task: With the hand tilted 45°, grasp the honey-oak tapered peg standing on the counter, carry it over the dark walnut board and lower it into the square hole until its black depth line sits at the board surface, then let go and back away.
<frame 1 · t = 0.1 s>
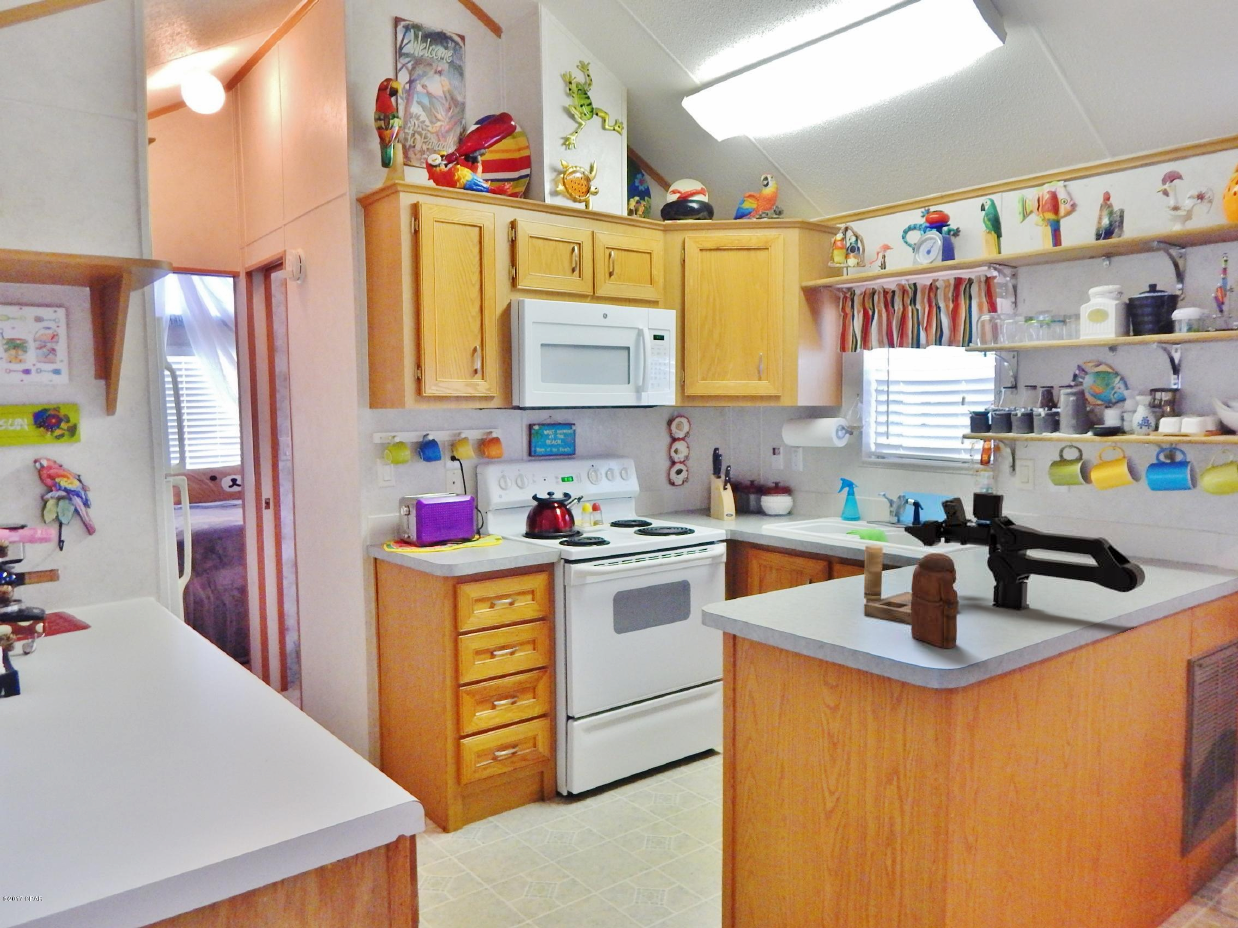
hand: (913, 527, 224), 17 cm above the countertop, tool horizontal, fingers open, 9 cm apart
walnut board: (911, 612, 200), on the countertop
oak peg: (872, 604, 208), on the countertop
wooden figurine: (934, 642, 175), on the countertop
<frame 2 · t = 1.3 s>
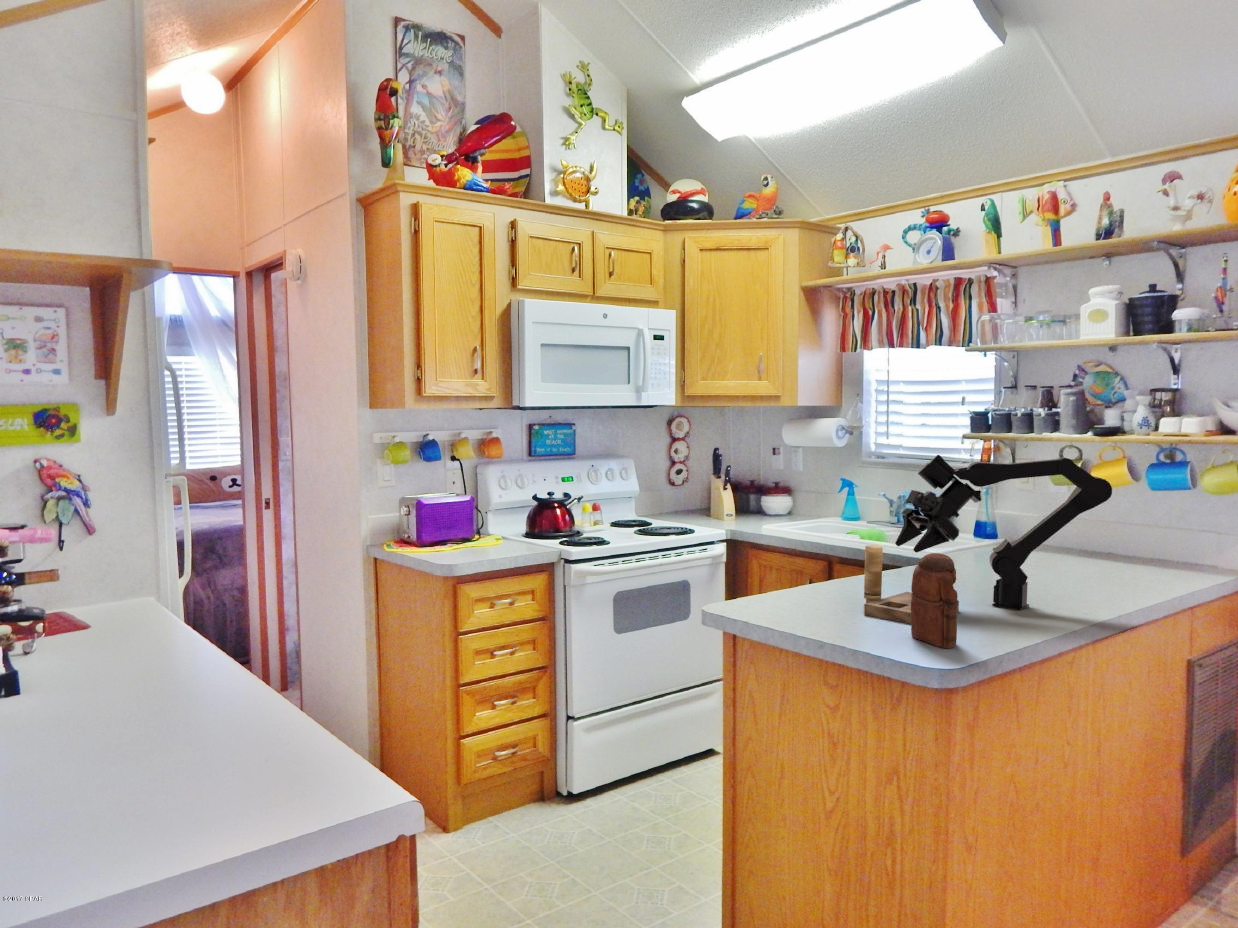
hand: (905, 547, 208), 14 cm above the countertop, tool tilted 45°, fingers open, 9 cm apart
nothing on the countertop moved.
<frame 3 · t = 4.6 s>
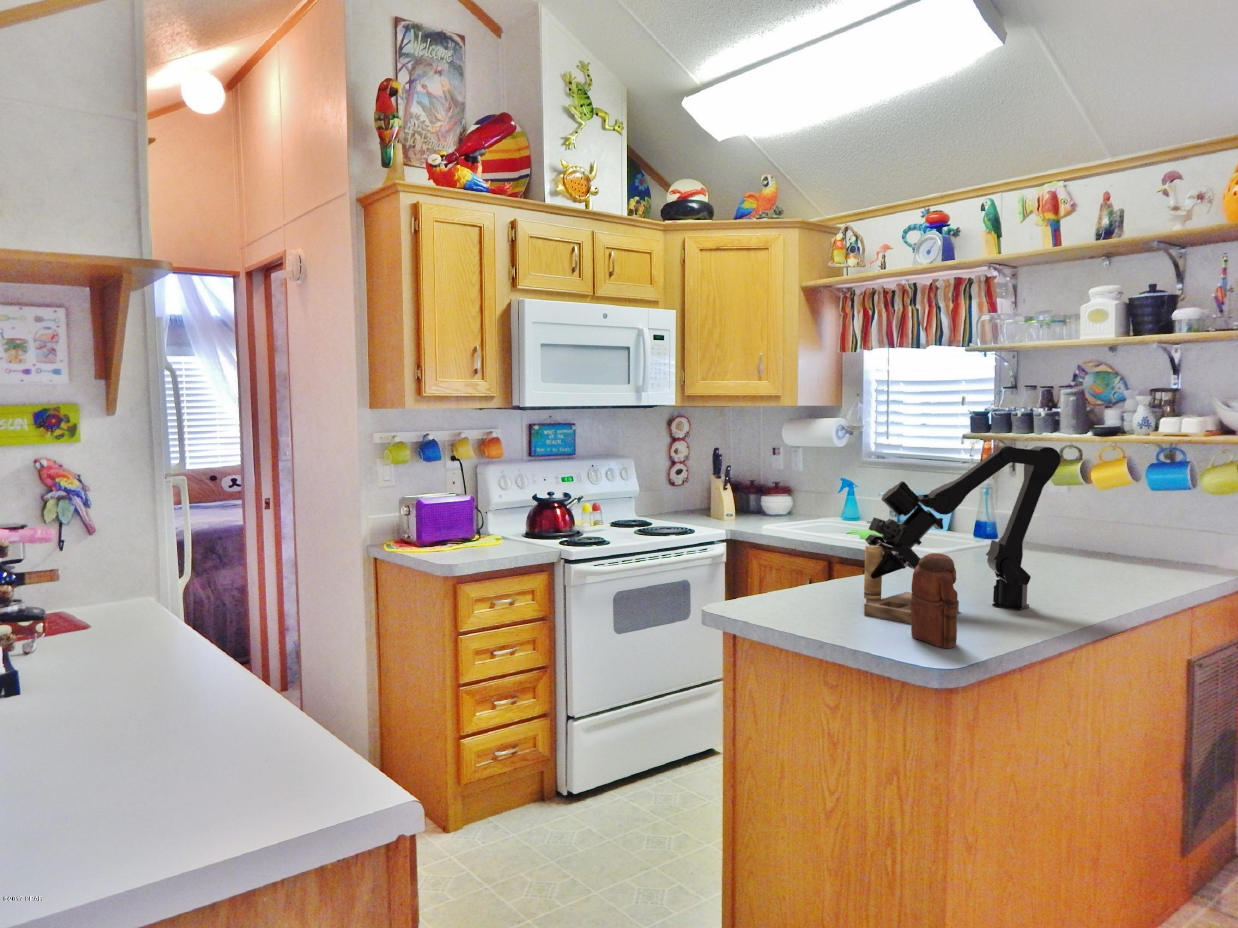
hand: (867, 575, 207), 7 cm above the countertop, tool tilted 45°, fingers closed on oak peg, 4 cm apart
oak peg: (872, 604, 208), on the countertop, touching gripper
everything else where it was.
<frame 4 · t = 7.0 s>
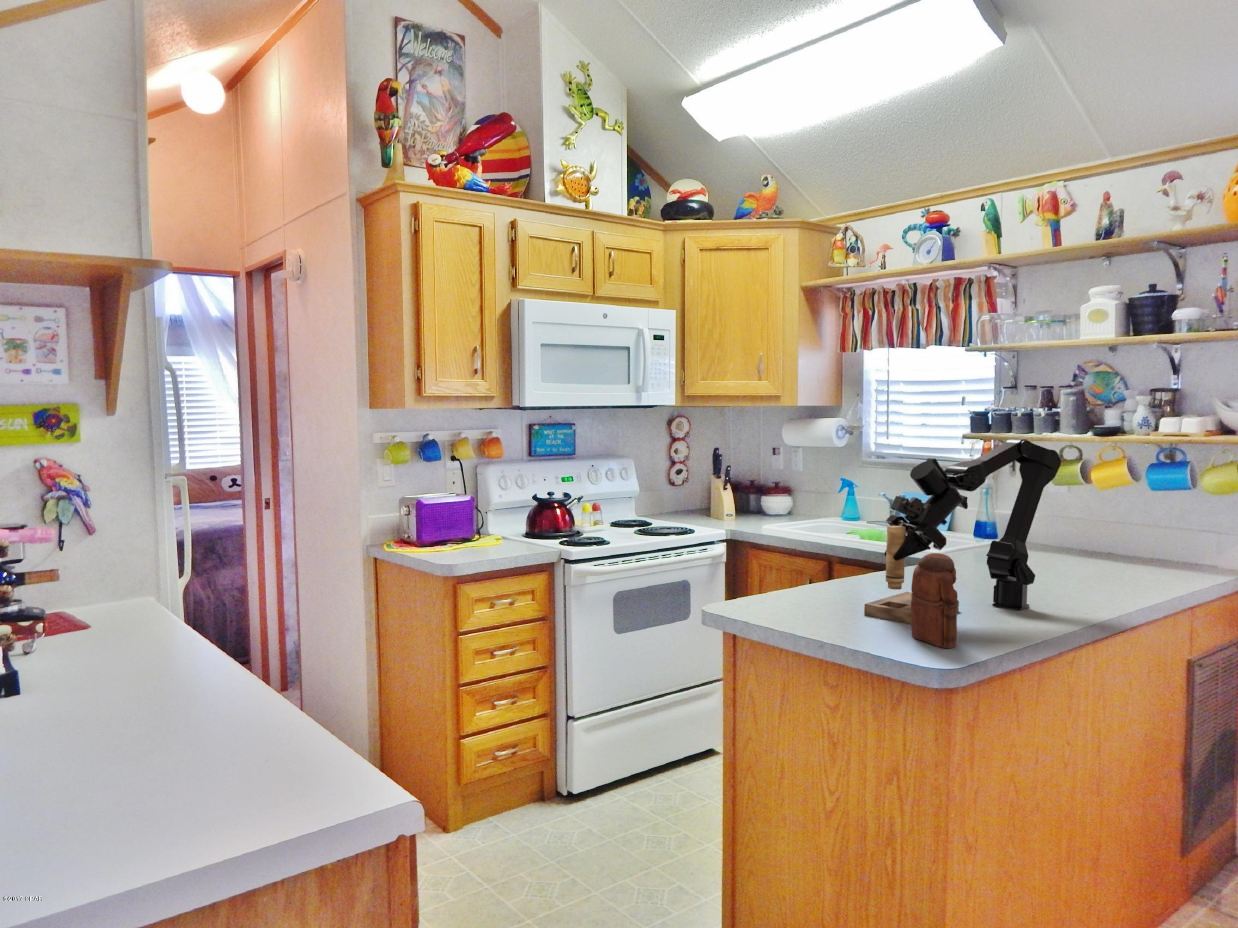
hand: (889, 557, 196), 13 cm above the countertop, tool tilted 45°, fingers closed on oak peg, 4 cm apart
oak peg: (894, 588, 196), point 6 cm above the countertop, touching gripper
everything else where it was.
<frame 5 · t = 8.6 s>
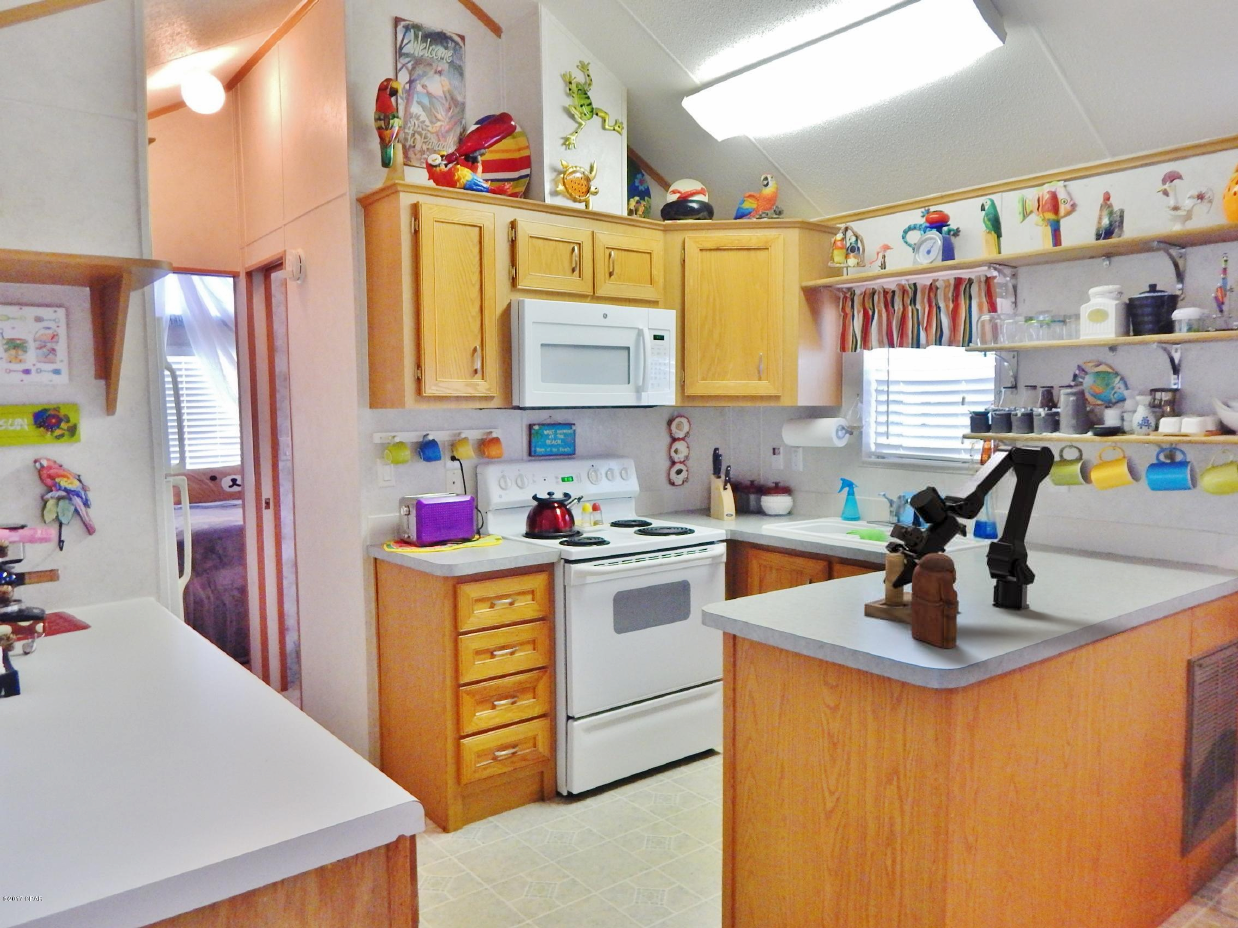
hand: (888, 585, 196), 7 cm above the countertop, tool tilted 45°, fingers closed on oak peg, 4 cm apart
oak peg: (893, 615, 197), on the countertop, touching gripper
everything else where it was.
when the fingers open (7 cm above the countertop, at t = 9.4 s): oak peg stays where it is, on the countertop.
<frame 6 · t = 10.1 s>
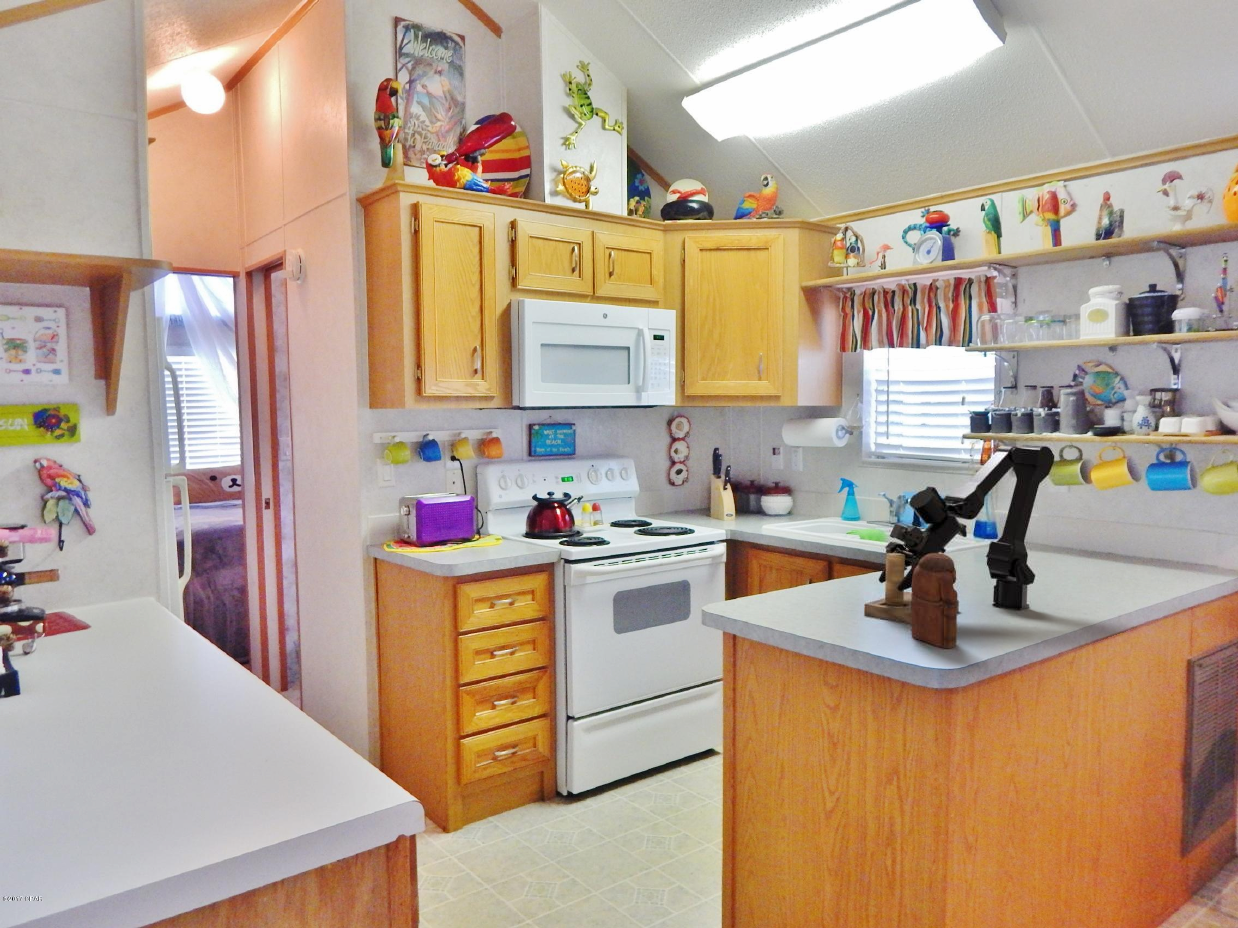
hand: (888, 585, 196), 7 cm above the countertop, tool tilted 45°, fingers open, 9 cm apart
oak peg: (893, 615, 197), on the countertop
everything else where it was.
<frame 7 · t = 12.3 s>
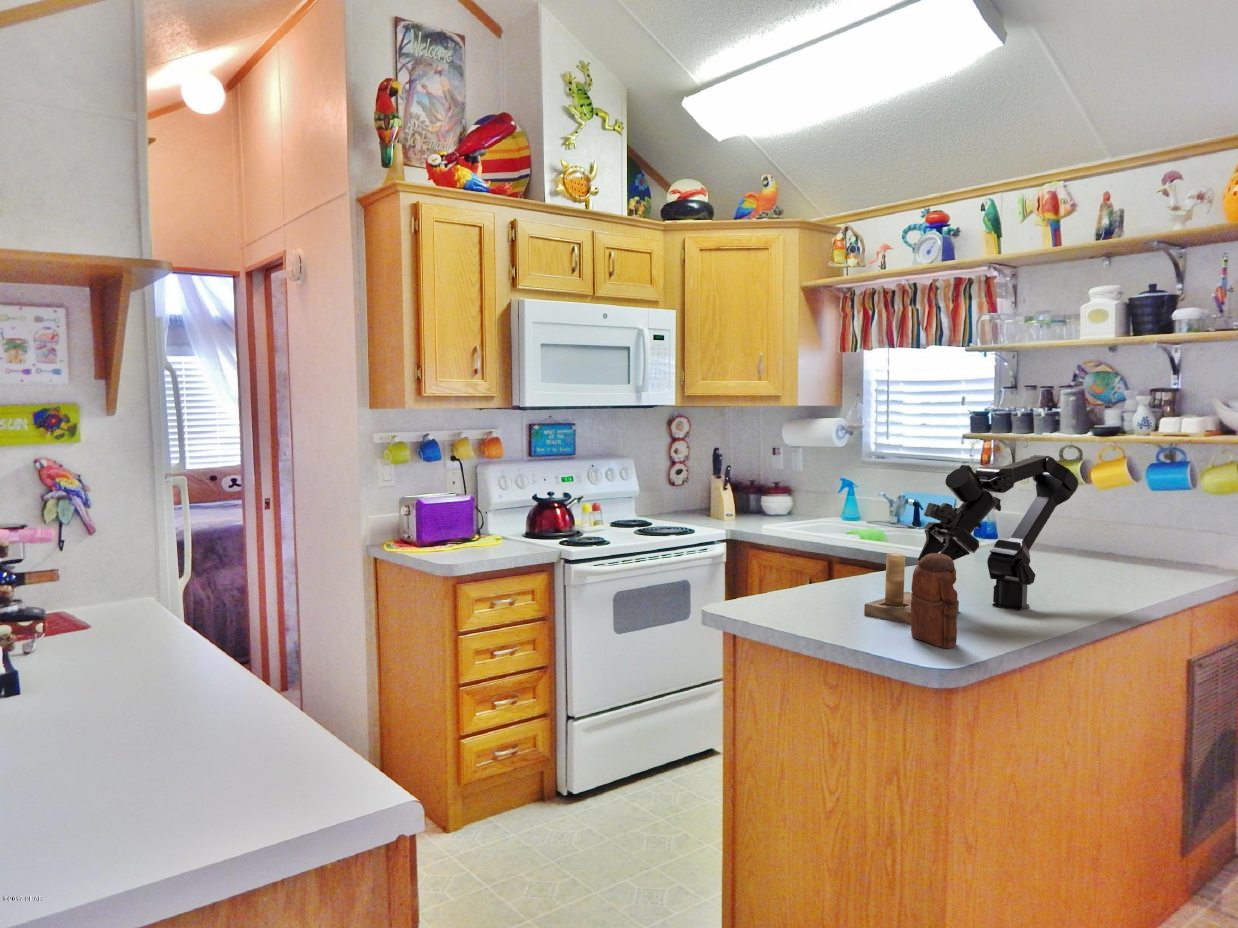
hand: (926, 563, 199), 11 cm above the countertop, tool tilted 40°, fingers open, 9 cm apart
nothing on the countertop moved.
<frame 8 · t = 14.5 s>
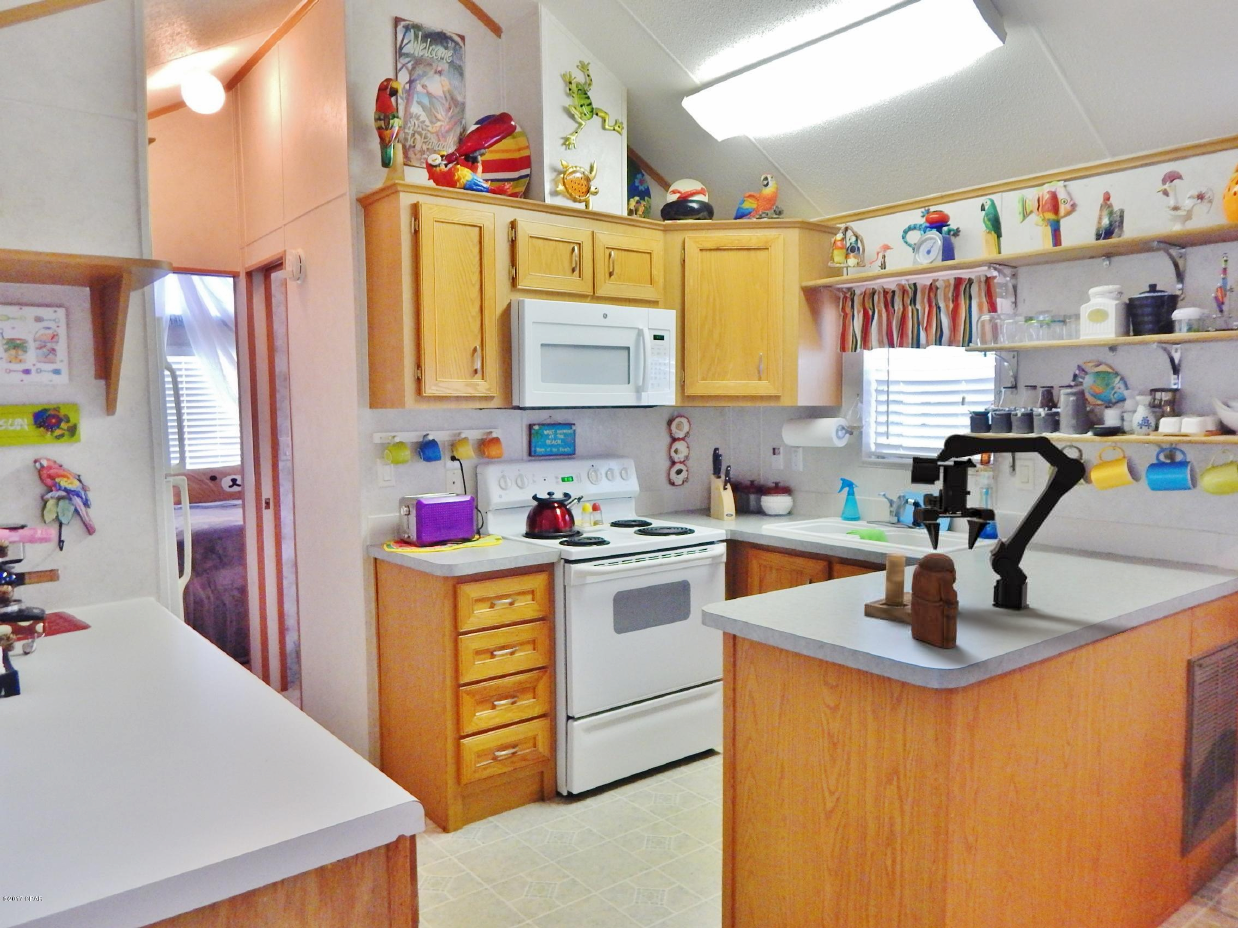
hand: (952, 549, 211), 13 cm above the countertop, tool pointing down, fingers open, 9 cm apart
nothing on the countertop moved.
at the end: oak peg 0.0 cm from the target spot on the walnut board, point 0.0 cm above the walnut board's base; oak peg tilted 0°; the gripper is holding nothing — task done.
